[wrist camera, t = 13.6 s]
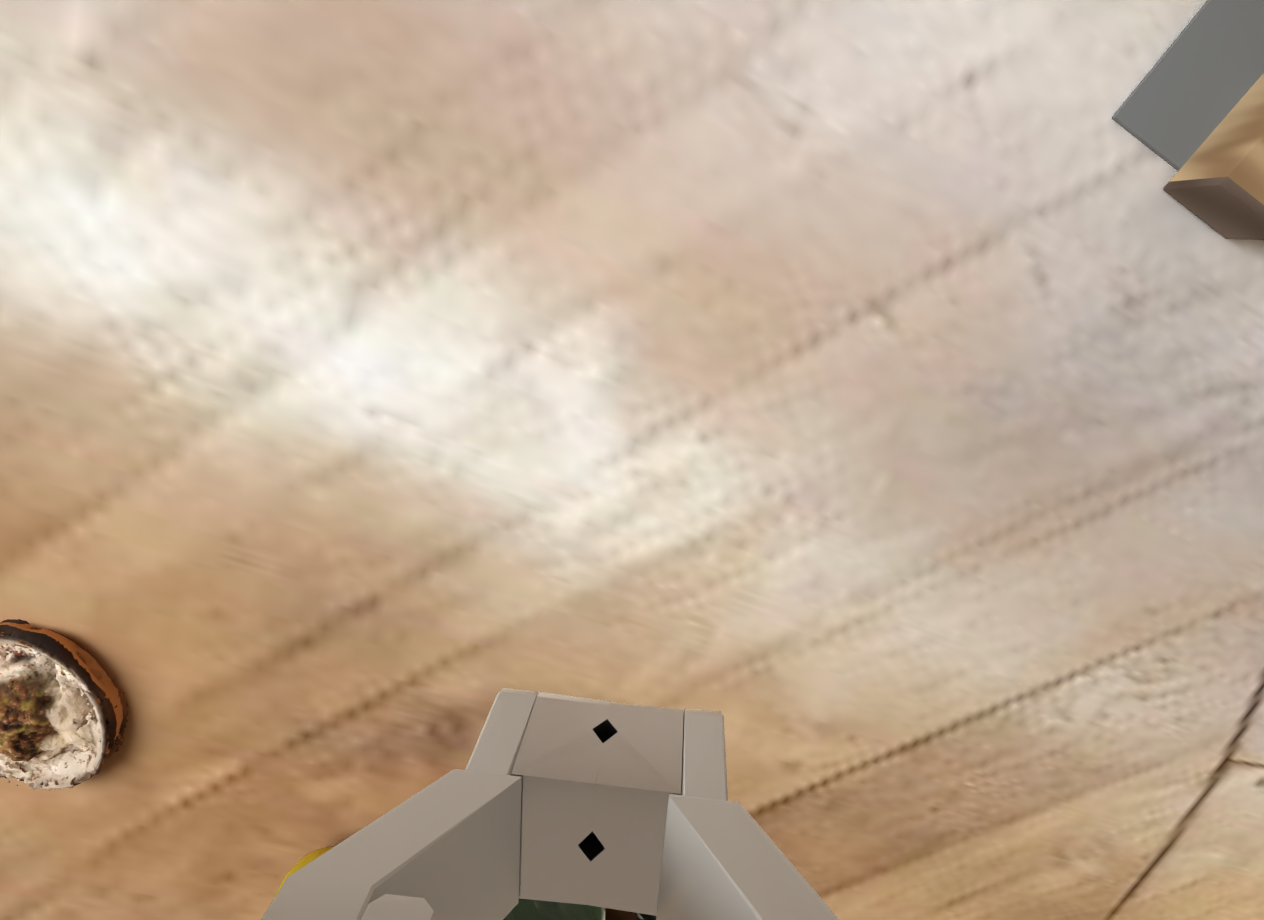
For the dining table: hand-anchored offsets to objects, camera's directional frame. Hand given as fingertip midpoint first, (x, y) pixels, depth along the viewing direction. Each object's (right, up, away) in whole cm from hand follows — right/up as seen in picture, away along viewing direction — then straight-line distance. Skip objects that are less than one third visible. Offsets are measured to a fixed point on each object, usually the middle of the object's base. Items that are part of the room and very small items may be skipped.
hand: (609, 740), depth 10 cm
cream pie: (-40, -12, +41) cm, 58 cm away
